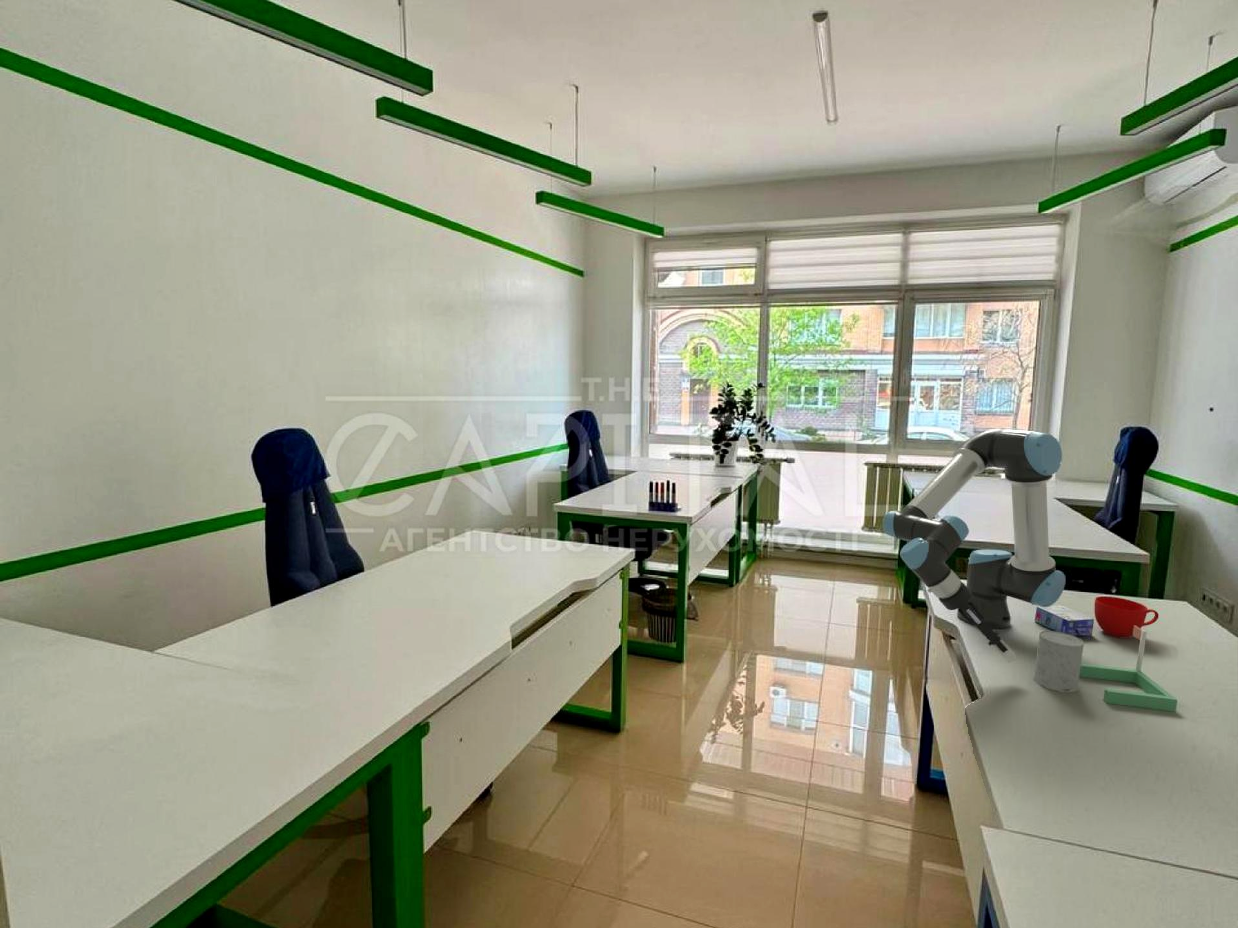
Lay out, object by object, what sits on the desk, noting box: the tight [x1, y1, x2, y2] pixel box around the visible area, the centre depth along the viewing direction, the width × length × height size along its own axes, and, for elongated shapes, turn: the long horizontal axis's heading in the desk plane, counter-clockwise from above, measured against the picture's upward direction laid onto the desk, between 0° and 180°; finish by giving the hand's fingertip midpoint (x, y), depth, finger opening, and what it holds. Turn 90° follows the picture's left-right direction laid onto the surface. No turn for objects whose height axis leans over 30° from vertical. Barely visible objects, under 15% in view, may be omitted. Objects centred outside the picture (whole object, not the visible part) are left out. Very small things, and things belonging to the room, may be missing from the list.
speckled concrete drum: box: [1032, 630, 1085, 694], centre depth 165 cm, size 10×10×12 cm
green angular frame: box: [1079, 625, 1178, 713], centre depth 163 cm, size 20×14×14 cm
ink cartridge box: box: [1034, 605, 1095, 637], centre depth 202 cm, size 10×6×14 cm
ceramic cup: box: [1093, 595, 1159, 639], centre depth 200 cm, size 13×17×10 cm
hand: (1012, 658), depth 167 cm, fingers closed
